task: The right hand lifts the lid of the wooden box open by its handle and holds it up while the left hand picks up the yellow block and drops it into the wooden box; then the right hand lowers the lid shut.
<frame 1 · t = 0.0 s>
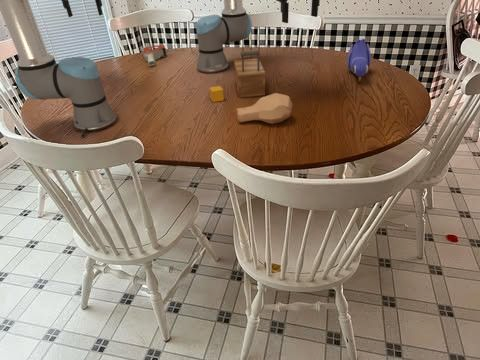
left hand: (85, 15, 157), 28 cm above the table, tool pointing down, fingers open, 13 cm apart
right hand: (299, 19, 130), 28 cm above the table, tool pointing down, fingers open, 13 cm apart
block: (217, 99, 145), on the table
squash: (264, 120, 128), on the table
toy: (357, 76, 157), on the table
wooden box: (249, 88, 152), on the table
lid: (248, 57, 144), point 13 cm above the table, hinge at -0.1°
tape dispenser: (152, 60, 192), on the table
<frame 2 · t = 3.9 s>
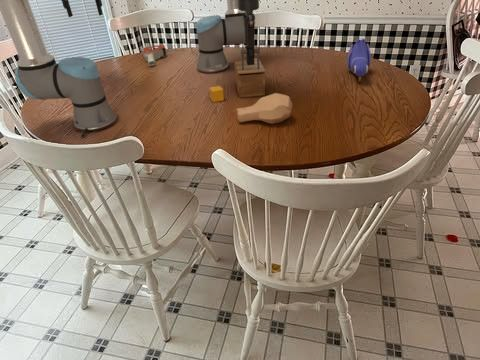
left hand: (85, 15, 157), 28 cm above the table, tool pointing down, fingers open, 13 cm apart
right hand: (250, 63, 139), 13 cm above the table, tool pointing down, fingers closed on lid, 2 cm apart
lid: (248, 56, 144), point 14 cm above the table, hinge at 2.6°, touching right hand
everything else where it was.
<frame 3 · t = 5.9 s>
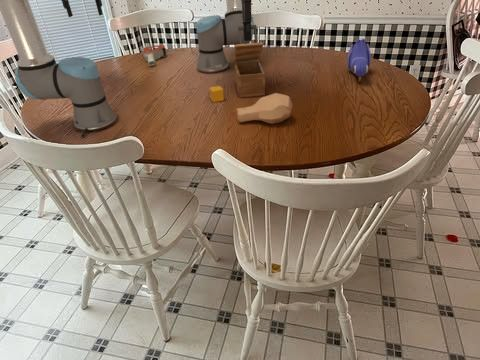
left hand: (85, 15, 157), 28 cm above the table, tool pointing down, fingers open, 13 cm apart
right hand: (247, 39, 141), 20 cm above the table, tool pointing down, fingers closed on lid, 2 cm apart
lid: (246, 43, 145), point 18 cm above the table, hinge at 36.6°, touching right hand
everything else where it was.
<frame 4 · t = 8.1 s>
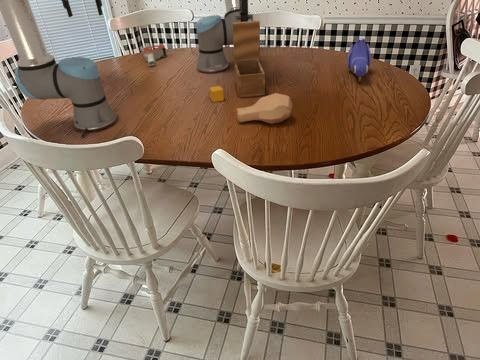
left hand: (85, 15, 157), 28 cm above the table, tool pointing down, fingers open, 13 cm apart
right hand: (244, 29, 148), 21 cm above the table, tool pointing down, fingers closed on lid, 2 cm apart
lid: (245, 36, 149), point 19 cm above the table, hinge at 72.1°, touching right hand
everything else where it was.
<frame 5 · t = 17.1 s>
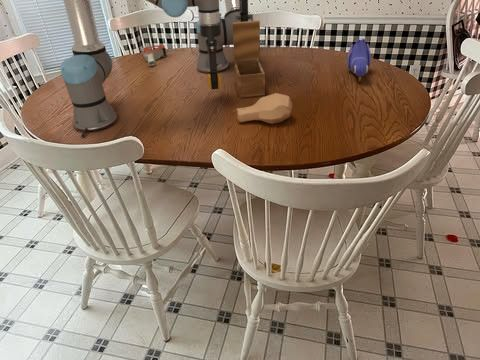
left hand: (214, 85, 142), 6 cm above the table, tool pointing down, fingers closed on block, 5 cm apart
right hand: (244, 29, 148), 21 cm above the table, tool pointing down, fingers closed on lid, 2 cm apart
block: (214, 86, 142), point 5 cm above the table, touching left hand
lid: (245, 36, 149), point 19 cm above the table, hinge at 72.4°, touching right hand
everything else where it was.
when the left hand's fingers open (16 cm above the table, at t = 19.9 s): block drops 15 cm, resting on wooden box.
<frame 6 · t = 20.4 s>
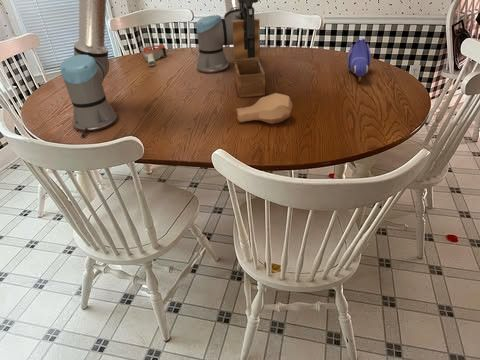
left hand: (249, 53, 138), 16 cm above the table, tool pointing down, fingers open, 11 cm apart
right hand: (244, 29, 149), 21 cm above the table, tool pointing down, fingers open, 2 cm apart
block: (250, 90, 148), point 1 cm above the table, touching wooden box
wooden box: (249, 88, 152), on the table, touching block
lid: (245, 36, 149), point 19 cm above the table, hinge at 76.7°, touching left hand, right hand
everything else where it was.
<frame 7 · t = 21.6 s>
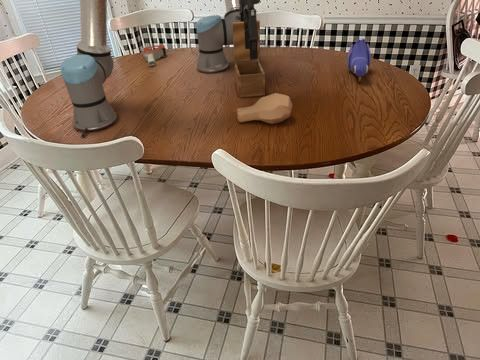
left hand: (251, 53, 134), 18 cm above the table, tool pointing down, fingers open, 13 cm apart
right hand: (244, 29, 148), 21 cm above the table, tool pointing down, fingers closed on lid, 2 cm apart
lid: (245, 36, 149), point 19 cm above the table, hinge at 72.6°, touching right hand
everything else where it was.
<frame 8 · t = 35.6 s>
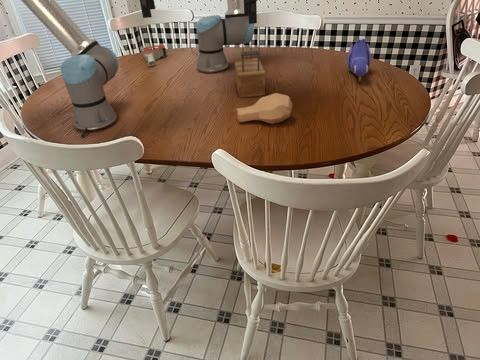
left hand: (149, 13, 121), 34 cm above the table, tool pointing down, fingers open, 13 cm apart
right hand: (250, 19, 127), 30 cm above the table, tool pointing down, fingers open, 13 cm apart
lid: (248, 57, 144), point 13 cm above the table, hinge at -0.1°
everything else where it was.
at the end: block inside the target area in the wooden box (3.9 cm from its centre), point 0.9 cm above the wooden box's base; lid at +0° (first picture: +0°); the left hand is holding nothing; the right hand is holding nothing; wooden box tilted 0°; wooden box moved 0.0 cm from its start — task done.
